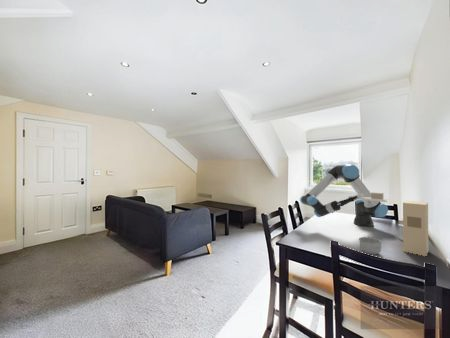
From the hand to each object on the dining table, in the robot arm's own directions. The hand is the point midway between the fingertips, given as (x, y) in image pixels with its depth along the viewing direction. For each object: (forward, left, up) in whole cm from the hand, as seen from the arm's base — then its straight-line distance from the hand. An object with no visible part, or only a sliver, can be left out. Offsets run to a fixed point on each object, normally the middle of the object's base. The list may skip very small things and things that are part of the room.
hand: (363, 194), depth 143 cm
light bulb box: (-20, +21, -33) cm, 44 cm away
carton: (0, +27, -32) cm, 42 cm away
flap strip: (0, +2, -3) cm, 4 cm away
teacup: (+22, +9, -33) cm, 41 cm away
